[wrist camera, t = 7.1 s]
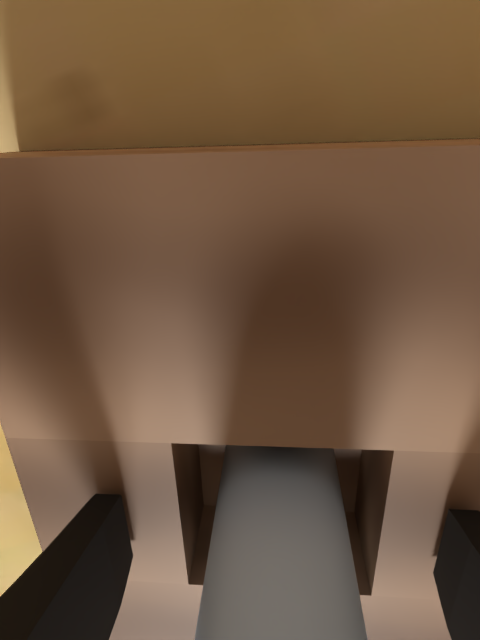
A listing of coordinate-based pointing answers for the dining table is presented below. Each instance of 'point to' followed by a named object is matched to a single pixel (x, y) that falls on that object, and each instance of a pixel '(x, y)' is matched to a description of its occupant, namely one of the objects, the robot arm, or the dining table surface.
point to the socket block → (245, 349)
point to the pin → (280, 550)
